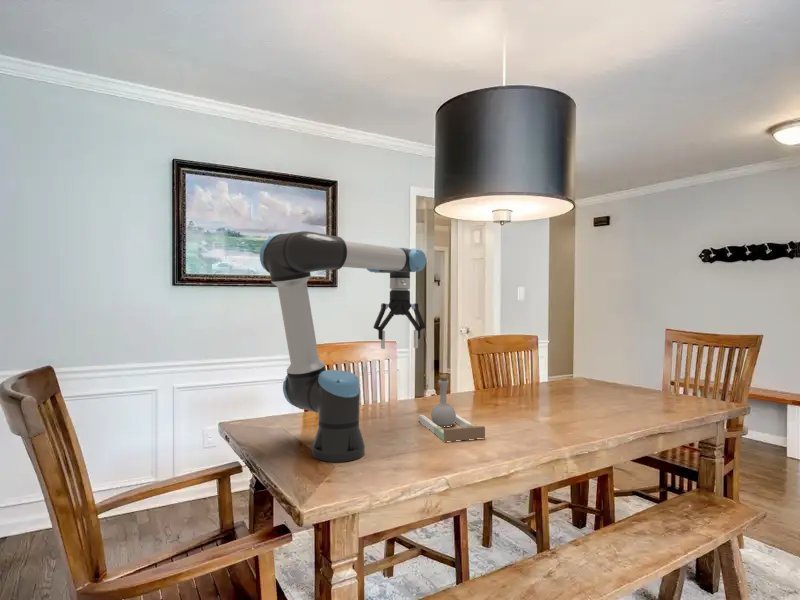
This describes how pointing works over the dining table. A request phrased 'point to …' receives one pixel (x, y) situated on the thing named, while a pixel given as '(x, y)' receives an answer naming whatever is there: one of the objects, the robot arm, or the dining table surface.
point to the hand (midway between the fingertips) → (399, 348)
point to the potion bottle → (443, 406)
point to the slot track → (455, 429)
